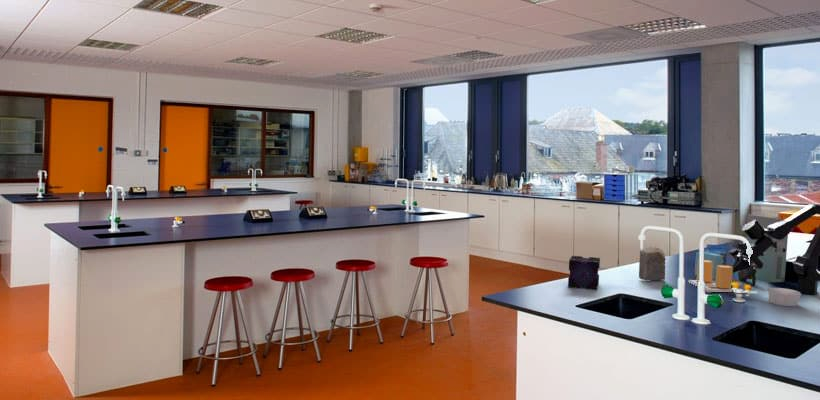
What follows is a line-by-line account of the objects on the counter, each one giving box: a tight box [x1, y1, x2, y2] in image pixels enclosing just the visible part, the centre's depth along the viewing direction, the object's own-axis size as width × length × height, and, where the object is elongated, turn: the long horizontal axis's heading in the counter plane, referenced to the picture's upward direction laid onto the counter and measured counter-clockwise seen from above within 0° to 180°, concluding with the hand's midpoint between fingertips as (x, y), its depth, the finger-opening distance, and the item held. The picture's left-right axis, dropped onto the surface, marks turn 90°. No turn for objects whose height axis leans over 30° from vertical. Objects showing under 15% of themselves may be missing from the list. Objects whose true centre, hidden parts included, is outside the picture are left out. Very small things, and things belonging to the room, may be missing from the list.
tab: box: [695, 260, 713, 282], centre depth 278 cm, size 5×4×9 cm
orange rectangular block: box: [715, 265, 734, 288], centre depth 266 cm, size 5×4×9 cm
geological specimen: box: [638, 246, 667, 282], centre depth 285 cm, size 11×6×15 cm, turn 109°
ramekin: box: [767, 287, 802, 307], centre depth 246 cm, size 11×11×5 cm
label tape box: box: [705, 244, 727, 266], centre depth 318 cm, size 9×4×12 cm, turn 81°
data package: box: [694, 251, 723, 281], centre depth 293 cm, size 12×4×12 cm, turn 20°
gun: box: [737, 265, 757, 287], centre depth 285 cm, size 3×16×10 cm, turn 175°
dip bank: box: [687, 279, 732, 293], centre depth 273 cm, size 17×19×1 cm
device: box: [745, 213, 789, 283], centre depth 294 cm, size 16×8×30 cm, turn 16°
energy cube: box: [567, 255, 601, 291], centre depth 270 cm, size 12×12×12 cm
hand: (730, 272), depth 266 cm, fingers closed, pressing on orange rectangular block
